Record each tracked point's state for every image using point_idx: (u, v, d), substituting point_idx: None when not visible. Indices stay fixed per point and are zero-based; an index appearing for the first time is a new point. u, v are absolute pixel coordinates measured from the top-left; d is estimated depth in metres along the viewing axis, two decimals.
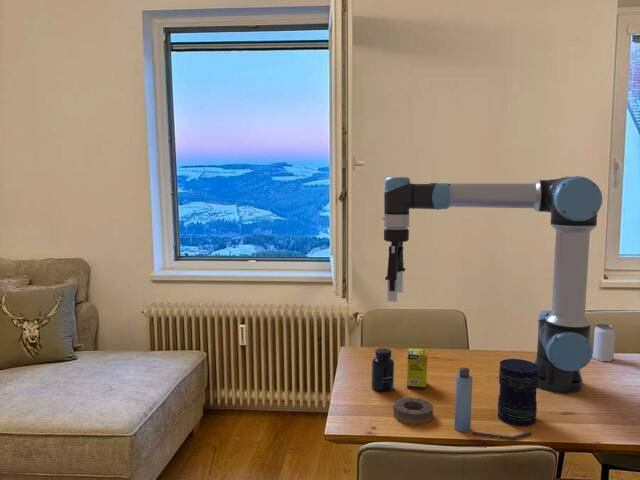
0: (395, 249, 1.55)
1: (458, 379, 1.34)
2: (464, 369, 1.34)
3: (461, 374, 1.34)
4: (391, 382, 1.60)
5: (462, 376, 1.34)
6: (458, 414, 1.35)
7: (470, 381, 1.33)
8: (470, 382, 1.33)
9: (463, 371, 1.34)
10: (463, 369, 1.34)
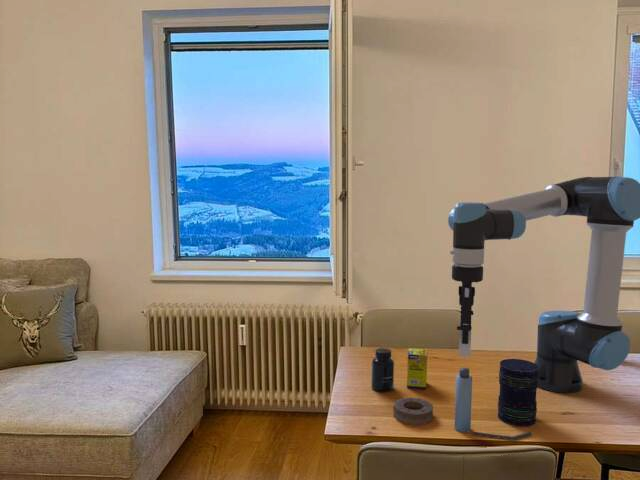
0: (469, 292, 1.25)
1: (458, 379, 1.34)
2: (464, 369, 1.34)
3: (461, 374, 1.34)
4: (391, 382, 1.60)
5: (462, 376, 1.34)
6: (458, 414, 1.35)
7: (470, 381, 1.33)
8: (470, 382, 1.33)
9: (463, 371, 1.34)
10: (463, 369, 1.34)
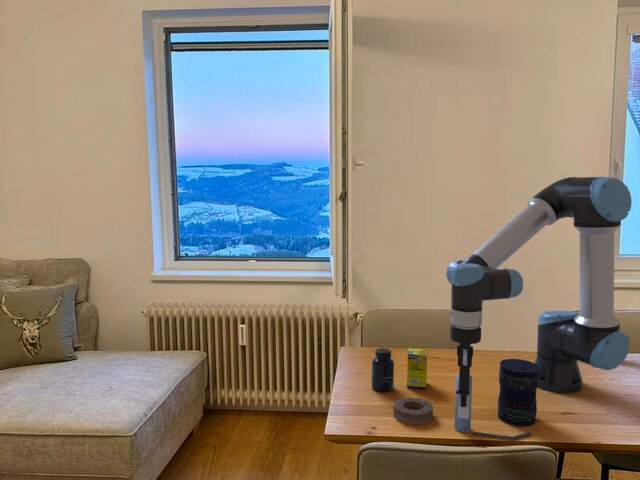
0: (467, 362, 1.28)
1: (458, 379, 1.34)
2: None
3: None
4: (391, 382, 1.60)
5: None
6: None
7: (470, 381, 1.33)
8: (470, 382, 1.33)
9: None
10: None
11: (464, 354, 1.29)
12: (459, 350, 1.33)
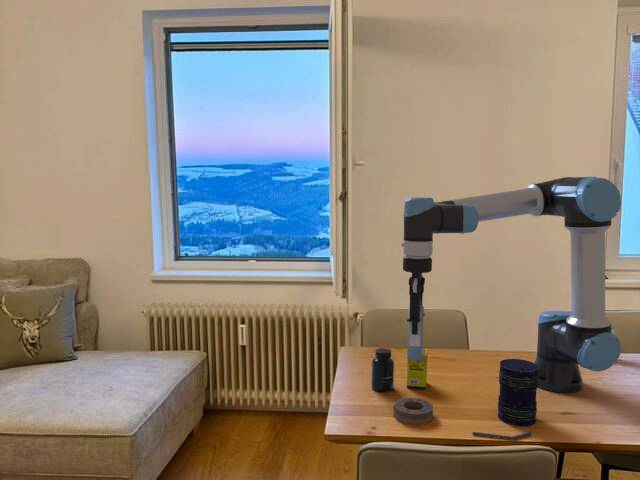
0: (417, 289, 1.33)
1: None
2: None
3: None
4: (391, 382, 1.60)
5: None
6: None
7: (421, 310, 1.39)
8: (421, 311, 1.39)
9: None
10: None
11: (414, 282, 1.35)
12: (411, 280, 1.38)
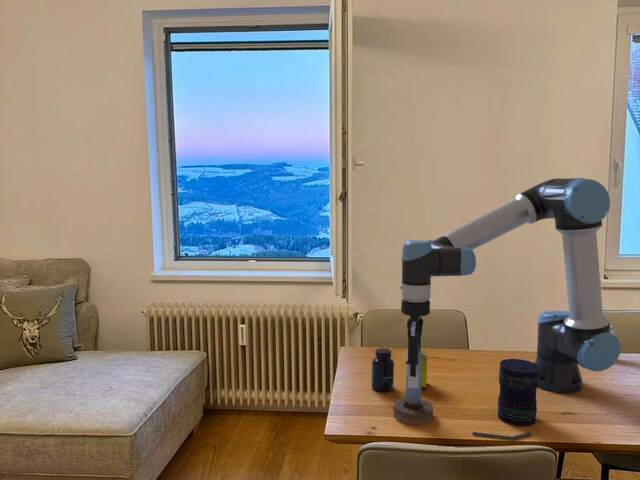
0: (415, 333, 1.35)
1: None
2: None
3: None
4: (391, 382, 1.60)
5: None
6: None
7: (419, 355, 1.40)
8: (419, 356, 1.40)
9: None
10: None
11: (412, 326, 1.36)
12: (409, 322, 1.39)
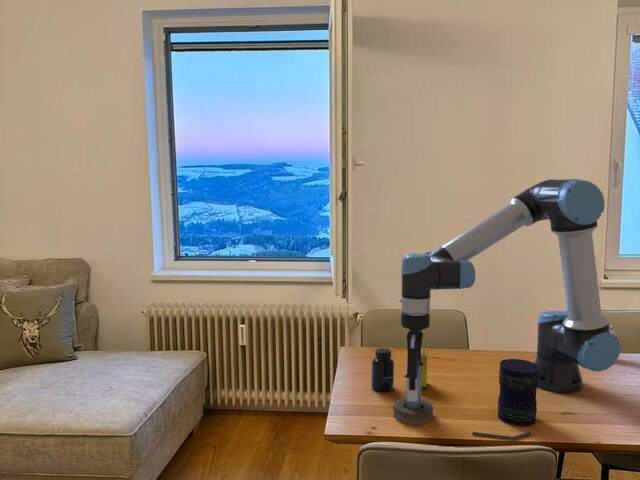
0: (415, 345, 1.35)
1: None
2: None
3: None
4: (391, 382, 1.60)
5: None
6: (408, 401, 1.42)
7: (419, 370, 1.41)
8: (419, 371, 1.41)
9: None
10: None
11: (412, 338, 1.36)
12: (409, 335, 1.40)
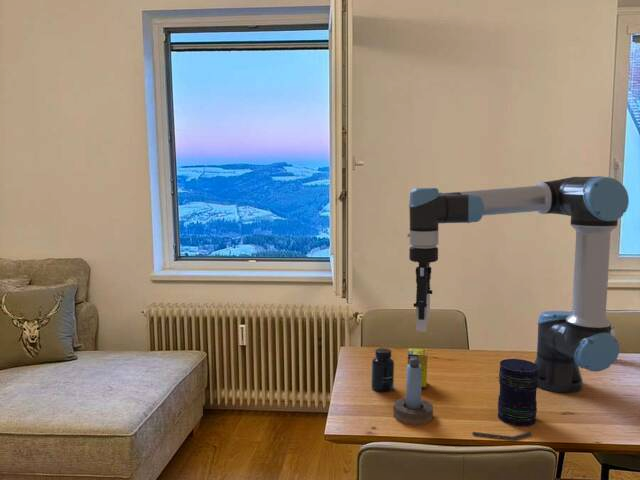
0: (424, 271, 1.34)
1: (408, 369, 1.41)
2: (414, 359, 1.42)
3: (411, 364, 1.41)
4: (391, 382, 1.60)
5: (412, 366, 1.41)
6: (408, 401, 1.42)
7: (419, 370, 1.41)
8: (419, 371, 1.41)
9: (413, 361, 1.41)
10: (413, 359, 1.42)
11: (421, 268, 1.37)
12: None
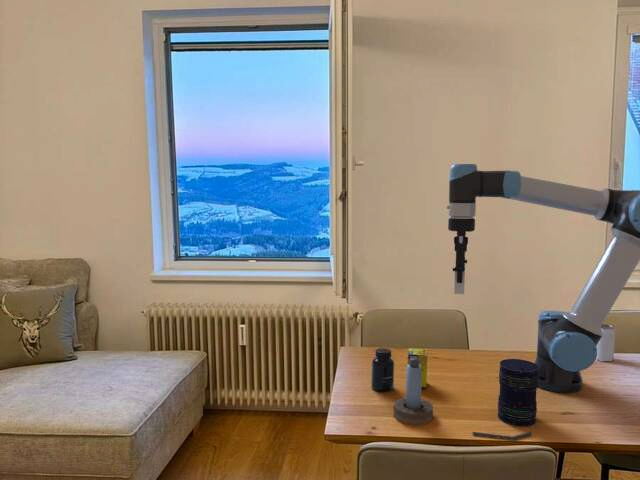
0: (463, 239, 1.48)
1: (408, 369, 1.41)
2: (414, 359, 1.42)
3: (411, 364, 1.41)
4: (391, 382, 1.60)
5: (412, 366, 1.41)
6: (408, 401, 1.42)
7: (419, 370, 1.41)
8: (419, 371, 1.41)
9: (413, 361, 1.41)
10: (413, 359, 1.42)
11: None
12: (456, 237, 1.53)
